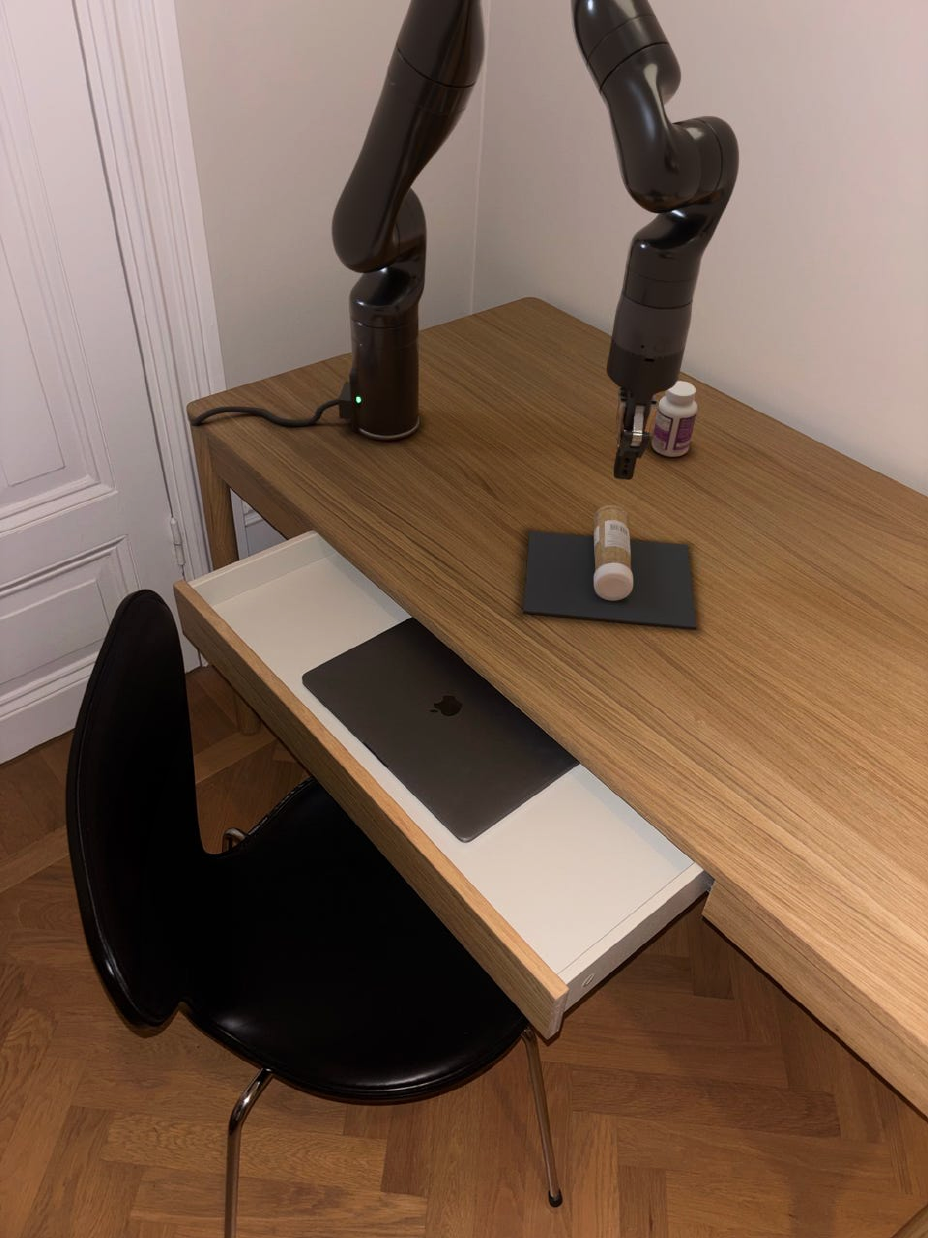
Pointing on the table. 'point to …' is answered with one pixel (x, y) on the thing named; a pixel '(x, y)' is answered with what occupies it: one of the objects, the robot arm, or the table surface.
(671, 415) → the pill bottle
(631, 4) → the robot arm
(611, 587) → the sprinkles bottle
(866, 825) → the table surface
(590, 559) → the mat
